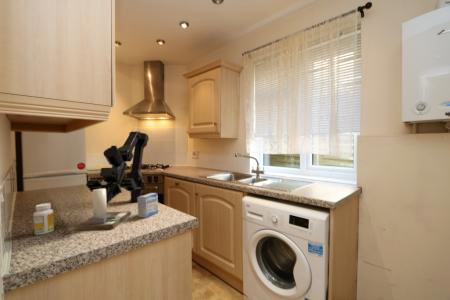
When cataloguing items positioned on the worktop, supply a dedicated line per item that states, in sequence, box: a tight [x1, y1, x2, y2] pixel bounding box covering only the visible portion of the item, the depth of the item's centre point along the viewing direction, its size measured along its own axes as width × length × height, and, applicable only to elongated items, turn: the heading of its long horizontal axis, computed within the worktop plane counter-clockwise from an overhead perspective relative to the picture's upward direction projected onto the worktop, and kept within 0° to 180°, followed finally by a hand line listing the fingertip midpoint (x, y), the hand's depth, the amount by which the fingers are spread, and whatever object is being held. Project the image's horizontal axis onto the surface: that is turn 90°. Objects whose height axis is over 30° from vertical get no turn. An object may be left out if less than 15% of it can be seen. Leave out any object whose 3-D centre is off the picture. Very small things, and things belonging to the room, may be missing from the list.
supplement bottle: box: [33, 202, 55, 235], centre depth 76 cm, size 5×5×10 cm
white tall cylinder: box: [90, 188, 115, 224], centre depth 80 cm, size 5×8×12 cm, turn 92°
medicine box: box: [137, 192, 159, 219], centre depth 92 cm, size 8×4×9 cm, turn 161°
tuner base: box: [75, 210, 132, 231], centre depth 84 cm, size 16×13×2 cm
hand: (105, 203), depth 84 cm, fingers closed
